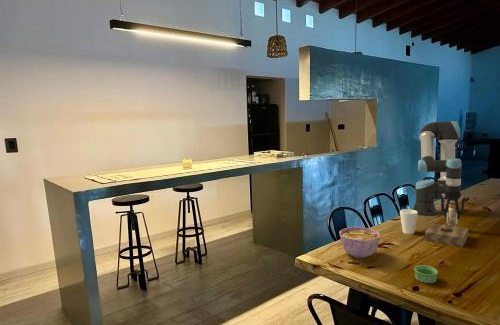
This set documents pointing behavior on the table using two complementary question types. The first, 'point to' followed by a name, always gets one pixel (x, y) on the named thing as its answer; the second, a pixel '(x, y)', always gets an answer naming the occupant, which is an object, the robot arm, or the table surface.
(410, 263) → the table surface
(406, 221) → the foam cup
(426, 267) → the ramekin
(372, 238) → the bowl of food
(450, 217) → the dowel
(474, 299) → the table surface
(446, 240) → the square peg hole block
